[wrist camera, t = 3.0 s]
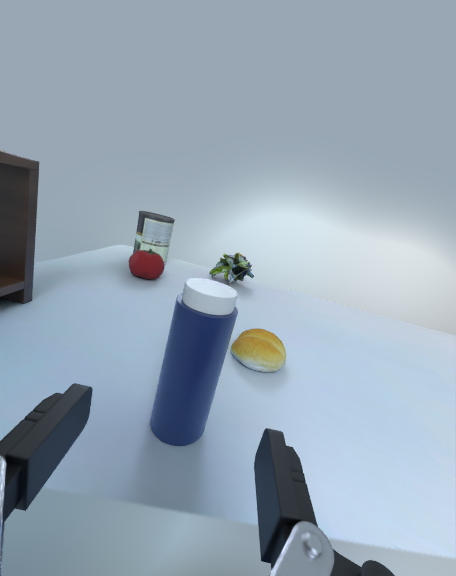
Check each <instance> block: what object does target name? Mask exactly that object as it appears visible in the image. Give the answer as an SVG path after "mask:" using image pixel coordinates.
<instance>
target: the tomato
mask: <svg viewBox="0 0 456 576" xmlns="http://www.w3.org/2000/svg"><path fill="white" fill-rule="evenodd" d="M129 268H130V271H131V273H132V274H133V275H135V276H137V277H142V278H144V279H151V280H152V279H156V278H158V277H159V276H160V275H161V274H162V272H163V270H164V262H163V259H162V257H161V256H160V254H157V253H156V252H154V251H152V249H149V250H147V251H146V250H139V251H136V252H135V253H133V255H132V256H131V257H130V259H129Z"/></svg>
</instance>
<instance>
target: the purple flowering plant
mask: <svg viewBox="0 0 456 576" xmlns="http://www.w3.org/2000/svg"><path fill="white" fill-rule="evenodd" d="M223 256H224V258H225V259H222V258H220V260H221V261H220V262H218V263H217V264H216V267H215V268H213V269H212V270H211V271H210V274H211V273H212V277H213V276H215V275H216V274H218V273H224V272H225V275H224V276H225V279H226V280H227V278H228V274H231V276H230V282H229V284H230V283H231V282H232V281H233V280H234V281H237V280H241V281H243V279H244V276H245V275H248V276H250V277H251V278H253V277H254V275H253V274H252V273H251V272H250V271H251V266H252V265H250V263H249V262H247V260H246V257H243V256H242V255H241V254H239V253H236V254H235V256H232V255H229V256H228V255H226V254H224V255H223ZM229 284H228V285H229Z"/></svg>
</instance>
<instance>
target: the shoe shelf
mask: <svg viewBox="0 0 456 576" xmlns="http://www.w3.org/2000/svg"><path fill="white" fill-rule="evenodd" d="M38 177H39V162H38V161H35V160H31V159H28V158H24V157H20V156H16V155H13V154H9V153H6V152H5V151H2V150H0V298H4V299H7V300H11V301H15V302H19V303H23V304H24V303H27V302H29V301H31V300H32V289H33V271H34V252H35V233H36V215H37V214H36V213H37V196H38Z"/></svg>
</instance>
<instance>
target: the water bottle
mask: <svg viewBox="0 0 456 576" xmlns="http://www.w3.org/2000/svg"><path fill="white" fill-rule="evenodd" d="M237 296H238V293H237V291H236V290H234V289H233V288H231V287H230V286H228V285H225V284H223V283H220V282H217V281H213V280H208V279H202V278H191V279H188V280H186V282H185V286H184V290H183V293H182V294H180V295H178V297H177V299H176V304H175V308H174V313H173V318H172V322H171V327H170V332H169V336H168V341H167V345H166V350H165V355H164V359H163V364H162V368H161V373H160V378H159V382H158V387H157V392H156V396H155V401H154V405H153V410H152V415H151V420H150V425H151V429H152V431H153V433H154V434H155V435H156V437H157V438H158V439H160V440H161V441H163V442H165V443H167V444H170V445H175V446H183V445H188V444H191V443H193V442H195V441H196V440H197V439H199V438H200V436H201V435H202V433H203V431H204V428H205V424H206V421H207V417H208V414H209V410H210V407H211V403H212V400H213V397H214V393H215V390H216V386H217V383H218V379H219V376H220V372H221V369H222V365H223V362H224V359H225V355H226V352H227V348H228V345H229V341H230V338H231V334H232V331H233V328H234V324H235V321H236V317H237V314H238V311H237V308H236V307H235V303H236V300H237Z"/></svg>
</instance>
